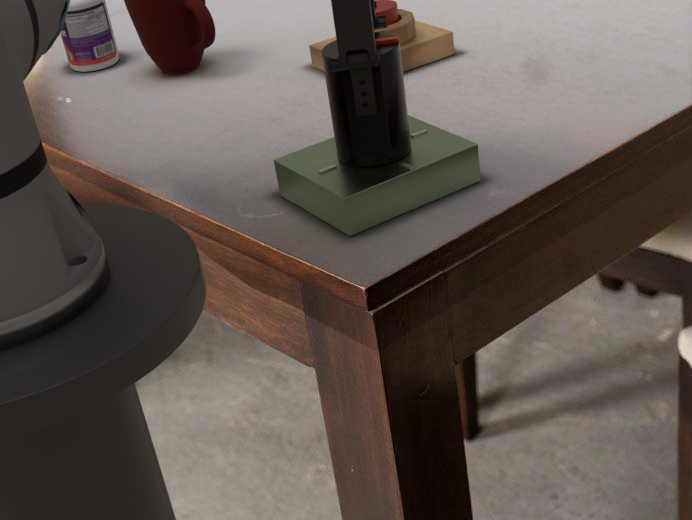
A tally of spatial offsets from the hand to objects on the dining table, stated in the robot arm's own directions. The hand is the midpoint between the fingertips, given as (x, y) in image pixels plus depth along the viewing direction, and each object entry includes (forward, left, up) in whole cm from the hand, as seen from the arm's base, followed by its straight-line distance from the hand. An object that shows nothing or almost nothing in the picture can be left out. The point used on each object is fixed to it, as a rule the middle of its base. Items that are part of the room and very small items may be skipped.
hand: (372, 135), depth 82 cm
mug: (+3, +39, -5) cm, 39 cm away
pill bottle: (-3, +50, -5) cm, 50 cm away
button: (+17, +24, -1) cm, 29 cm away
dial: (0, 0, -1) cm, 1 cm away
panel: (0, 0, -4) cm, 4 cm away
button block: (+17, +24, -4) cm, 30 cm away
